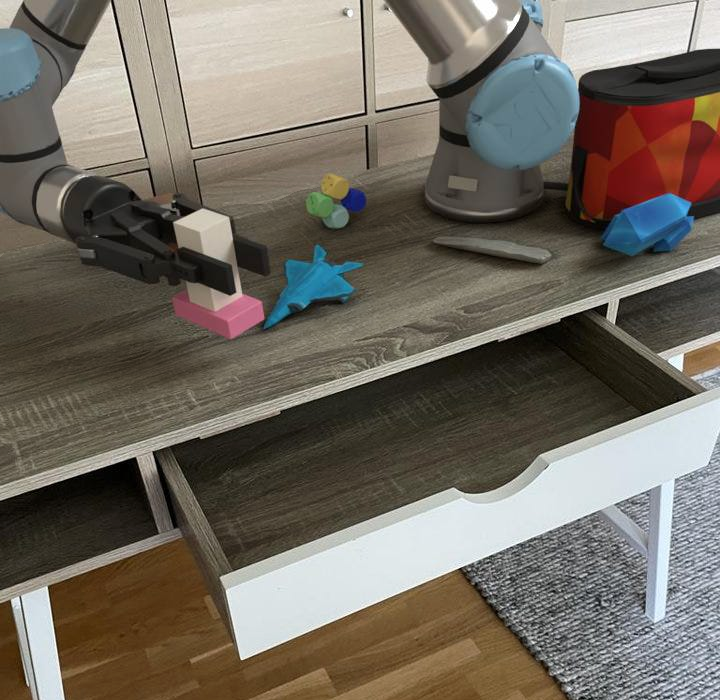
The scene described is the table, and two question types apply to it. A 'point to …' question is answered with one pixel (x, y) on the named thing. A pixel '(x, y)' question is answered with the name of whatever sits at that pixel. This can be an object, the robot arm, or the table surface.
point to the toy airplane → (311, 284)
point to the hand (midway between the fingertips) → (248, 270)
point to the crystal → (650, 225)
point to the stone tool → (496, 248)
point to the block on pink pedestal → (205, 303)
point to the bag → (647, 137)
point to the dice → (327, 209)
